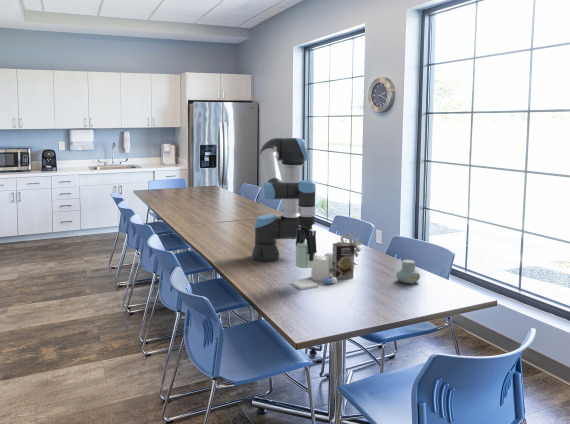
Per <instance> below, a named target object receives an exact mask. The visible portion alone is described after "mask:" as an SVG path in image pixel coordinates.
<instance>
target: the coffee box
mask: <svg viewBox="0 0 570 424" xmlns="http://www.w3.org/2000/svg"><path fill="white" fill-rule="evenodd" d="M355 249H356V248H355V245H353V244H351V243H350V242H346V243H337V242H336V243H335V242H334V243H332V253H333V255H332V270H331V276H332V277H335V278H336V279H337V280H339V279H353V278H354V271H355V270H354V268H355V264H354V261H355V255H354V250H355Z"/></svg>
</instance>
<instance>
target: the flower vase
mask: <svg viewBox="0 0 570 424" xmlns="http://www.w3.org/2000/svg"><path fill="white" fill-rule="evenodd" d="M355 235H356V233H353V232H349V233H348V234H347V233H346V234H345V233H344V234H342V236H341V237H340V241H337V242H336V243H351V244H353V245H355V250H354V257H355V258H358V257H359V252H362V250H363V249H362V248H361V247H362V243H361V242H359V241H360V237H359V236H358V237H357V238H355V239H354V240H353V239H352V238H353V237H354V236H355ZM347 241H348V242H347ZM332 255H333V252H326V253H325V254H324V255H323V256H327V257H329V258H330V271H332ZM354 265H359V262H357V261H355V260H354Z"/></svg>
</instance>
